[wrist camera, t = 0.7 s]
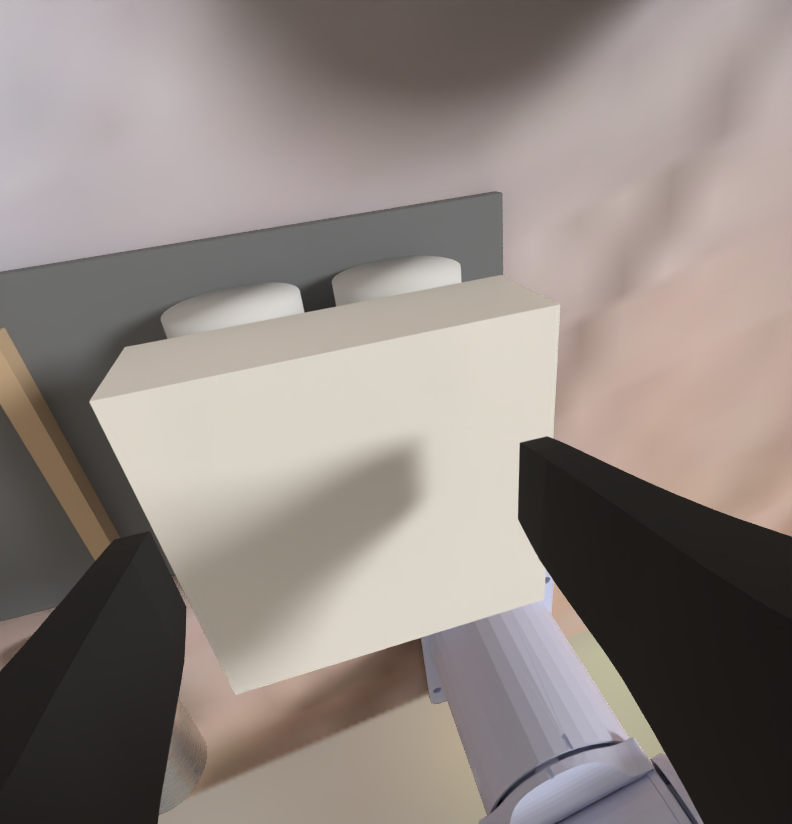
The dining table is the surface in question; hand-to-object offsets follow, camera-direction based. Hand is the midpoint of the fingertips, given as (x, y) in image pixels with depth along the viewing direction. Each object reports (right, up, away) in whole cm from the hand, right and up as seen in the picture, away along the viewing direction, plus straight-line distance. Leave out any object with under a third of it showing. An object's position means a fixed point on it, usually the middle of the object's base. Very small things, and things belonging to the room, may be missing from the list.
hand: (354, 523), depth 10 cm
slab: (0, +1, +6) cm, 6 cm away
